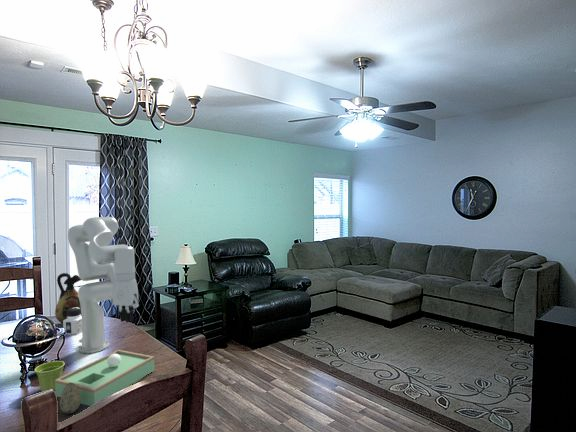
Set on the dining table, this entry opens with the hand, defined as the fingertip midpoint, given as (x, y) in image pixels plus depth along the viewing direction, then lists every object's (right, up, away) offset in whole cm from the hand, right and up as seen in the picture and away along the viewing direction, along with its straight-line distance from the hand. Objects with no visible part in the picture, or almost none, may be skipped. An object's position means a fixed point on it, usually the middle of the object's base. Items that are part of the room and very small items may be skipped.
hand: (127, 320), depth 147 cm
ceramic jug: (-61, -20, +61) cm, 89 cm away
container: (-50, -20, +48) cm, 73 cm away
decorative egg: (-6, -23, -28) cm, 36 cm away
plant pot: (-23, -22, -12) cm, 34 cm away
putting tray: (-3, -22, -8) cm, 23 cm away
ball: (-2, -14, -6) cm, 15 cm away
